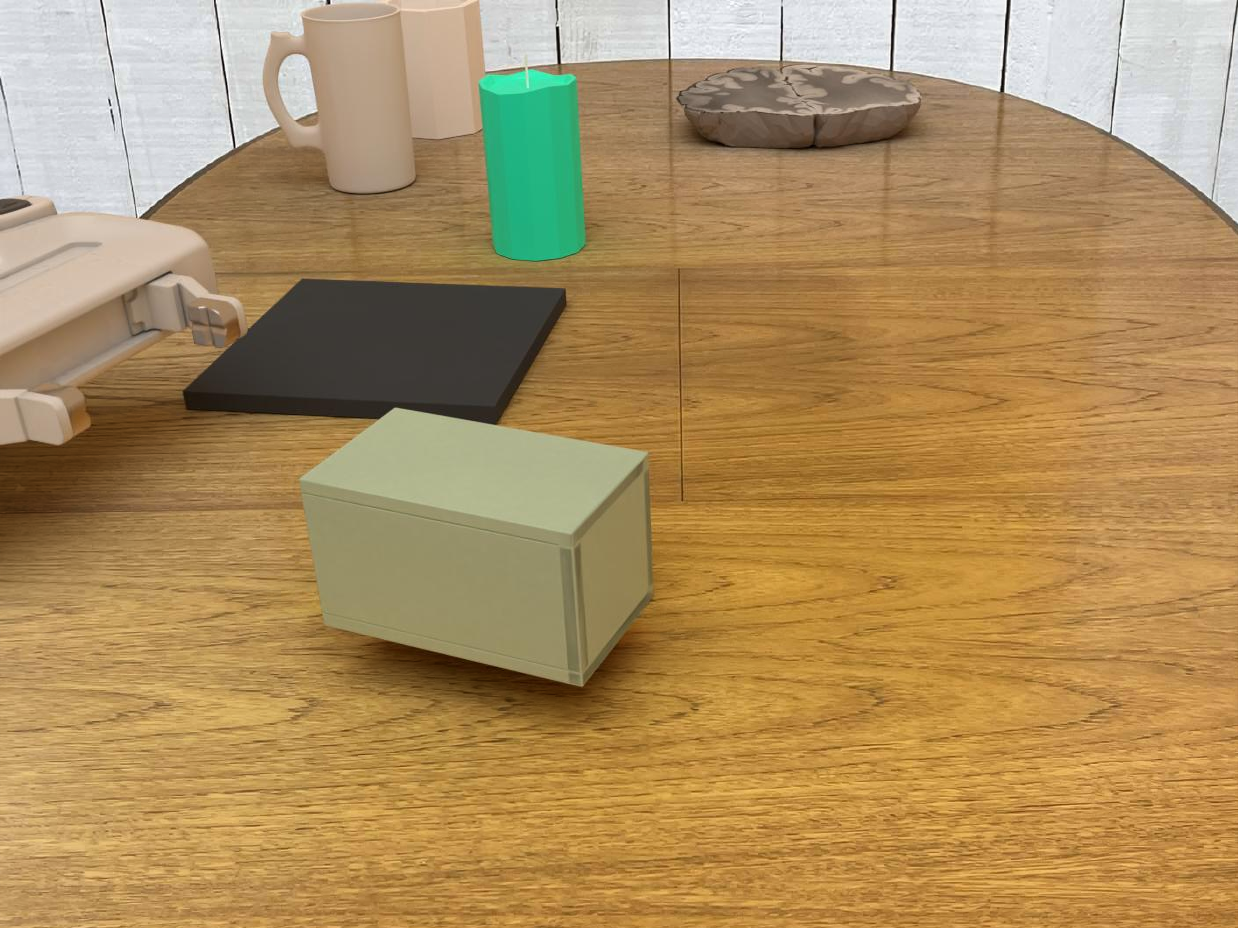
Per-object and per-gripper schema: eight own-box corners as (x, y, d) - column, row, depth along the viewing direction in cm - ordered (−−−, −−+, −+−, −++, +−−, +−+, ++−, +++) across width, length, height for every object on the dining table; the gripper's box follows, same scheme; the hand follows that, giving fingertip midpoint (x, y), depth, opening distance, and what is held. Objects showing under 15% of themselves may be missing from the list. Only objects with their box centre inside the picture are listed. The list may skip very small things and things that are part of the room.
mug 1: (419, 166, 108) (401, 0, 102) (420, 192, 102) (400, 17, 96) (283, 174, 107) (256, 6, 100) (276, 201, 101) (246, 25, 95)
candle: (602, 249, 91) (592, 56, 85) (516, 267, 89) (500, 69, 82) (560, 224, 96) (548, 39, 90) (478, 240, 93) (460, 51, 87)
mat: (185, 409, 71) (181, 391, 71) (304, 294, 85) (301, 278, 84) (496, 424, 69) (494, 406, 69) (566, 304, 83) (565, 287, 83)
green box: (323, 625, 54) (297, 478, 51) (413, 545, 60) (394, 406, 56) (582, 687, 51) (571, 533, 48) (654, 596, 56) (649, 451, 53)
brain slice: (883, 95, 125) (885, 60, 124) (937, 147, 111) (940, 108, 109) (662, 105, 123) (661, 70, 122) (687, 160, 109) (687, 120, 107)
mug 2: (492, 111, 122) (482, -10, 117) (486, 138, 115) (475, 10, 110) (351, 115, 121) (334, -6, 117) (336, 142, 114) (317, 14, 109)
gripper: (-365, 346, 51) (-74, 403, 46) (53, 183, 67) (298, 213, 63) (-300, 500, 54) (-21, 566, 50) (84, 308, 70) (320, 345, 66)
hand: (160, 367), depth 56 cm, fingers open, 8 cm apart
